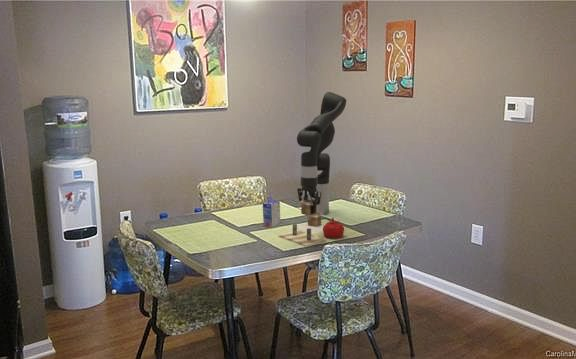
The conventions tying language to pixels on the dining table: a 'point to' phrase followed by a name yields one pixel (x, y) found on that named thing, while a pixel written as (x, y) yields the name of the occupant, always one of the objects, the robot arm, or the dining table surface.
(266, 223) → the ink cartridge box
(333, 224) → the pomegranate
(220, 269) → the dining table surface
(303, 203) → the sleeve
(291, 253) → the dining table surface
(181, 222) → the dining table surface
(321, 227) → the mat
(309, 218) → the sleeve
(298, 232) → the pin board
